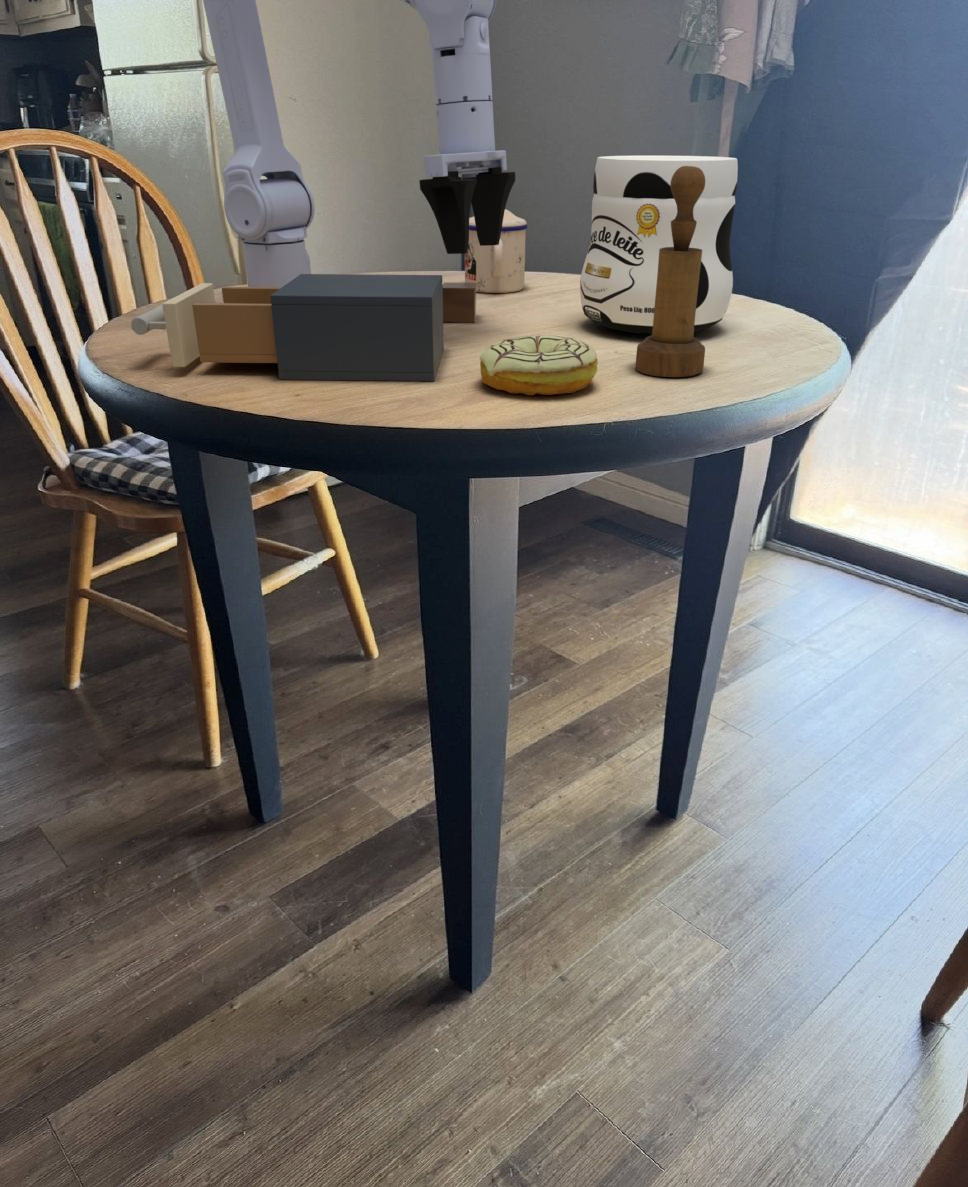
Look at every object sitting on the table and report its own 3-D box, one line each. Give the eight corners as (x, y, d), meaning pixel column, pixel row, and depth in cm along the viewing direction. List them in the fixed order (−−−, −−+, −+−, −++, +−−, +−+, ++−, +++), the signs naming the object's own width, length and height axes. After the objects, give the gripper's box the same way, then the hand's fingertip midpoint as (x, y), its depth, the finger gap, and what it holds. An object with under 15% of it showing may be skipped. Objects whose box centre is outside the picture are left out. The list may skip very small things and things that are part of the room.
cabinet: (279, 379, 82) (269, 295, 78) (307, 348, 93) (300, 273, 90) (434, 381, 82) (431, 296, 78) (443, 350, 93) (442, 275, 89)
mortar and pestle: (656, 358, 90) (675, 163, 81) (714, 368, 86) (740, 165, 78) (622, 371, 85) (638, 166, 77) (682, 382, 82) (706, 168, 73)
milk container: (554, 334, 100) (561, 158, 92) (608, 308, 114) (618, 154, 105) (703, 350, 93) (726, 162, 84) (742, 321, 107) (765, 157, 98)
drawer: (128, 366, 83) (116, 303, 80) (170, 340, 93) (160, 282, 90) (314, 368, 82) (308, 304, 79) (336, 341, 92) (331, 284, 89)
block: (444, 315, 109) (443, 282, 107) (476, 316, 109) (476, 282, 107) (441, 322, 106) (441, 287, 104) (474, 322, 106) (474, 288, 104)
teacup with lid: (462, 283, 131) (461, 198, 125) (522, 283, 131) (524, 198, 126) (465, 298, 120) (464, 205, 115) (530, 297, 121) (533, 205, 115)
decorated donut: (482, 369, 86) (482, 330, 84) (592, 371, 85) (594, 331, 83) (477, 398, 77) (476, 355, 75) (599, 400, 76) (602, 357, 74)
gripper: (466, 98, 80) (476, 256, 86) (529, 101, 91) (535, 240, 97) (400, 105, 83) (415, 258, 89) (470, 107, 94) (478, 242, 100)
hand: (473, 249), depth 93 cm, fingers open, 7 cm apart
